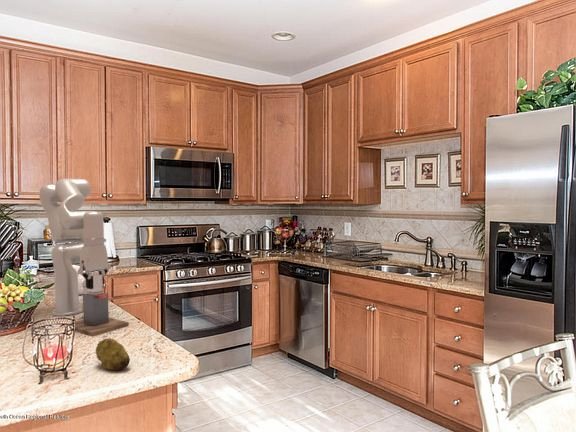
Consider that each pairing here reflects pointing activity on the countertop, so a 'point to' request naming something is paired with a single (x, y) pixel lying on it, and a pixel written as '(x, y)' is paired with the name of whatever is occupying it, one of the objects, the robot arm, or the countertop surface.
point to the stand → (97, 316)
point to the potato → (112, 354)
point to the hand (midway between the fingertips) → (95, 287)
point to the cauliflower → (79, 280)
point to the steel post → (96, 285)
